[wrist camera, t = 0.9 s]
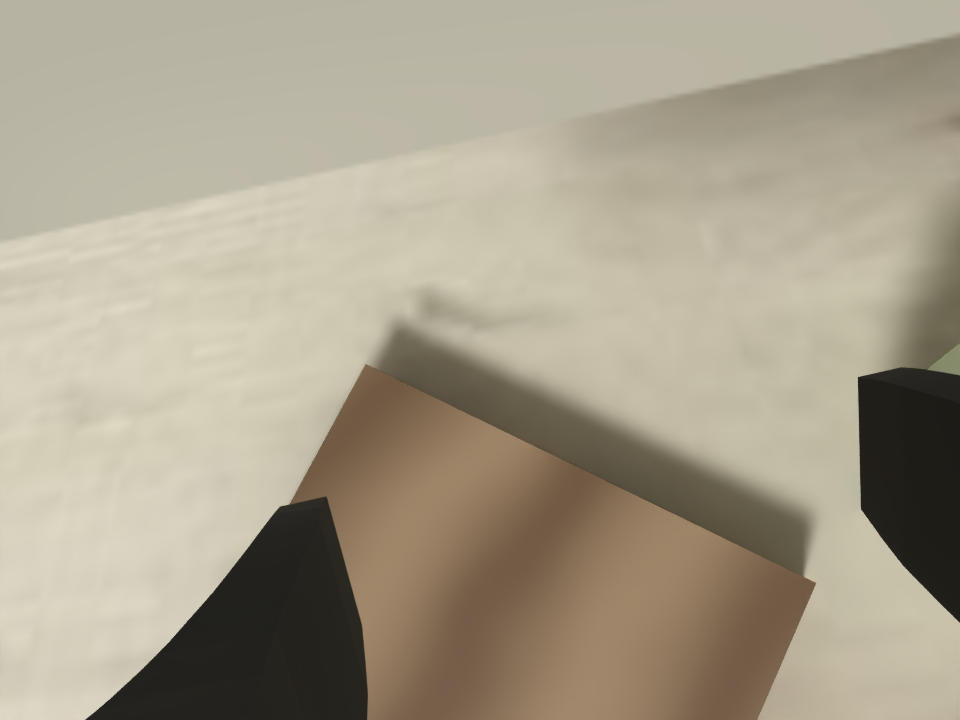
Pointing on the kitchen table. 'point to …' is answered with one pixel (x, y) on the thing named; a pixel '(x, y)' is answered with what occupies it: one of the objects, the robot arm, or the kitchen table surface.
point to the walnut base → (535, 578)
